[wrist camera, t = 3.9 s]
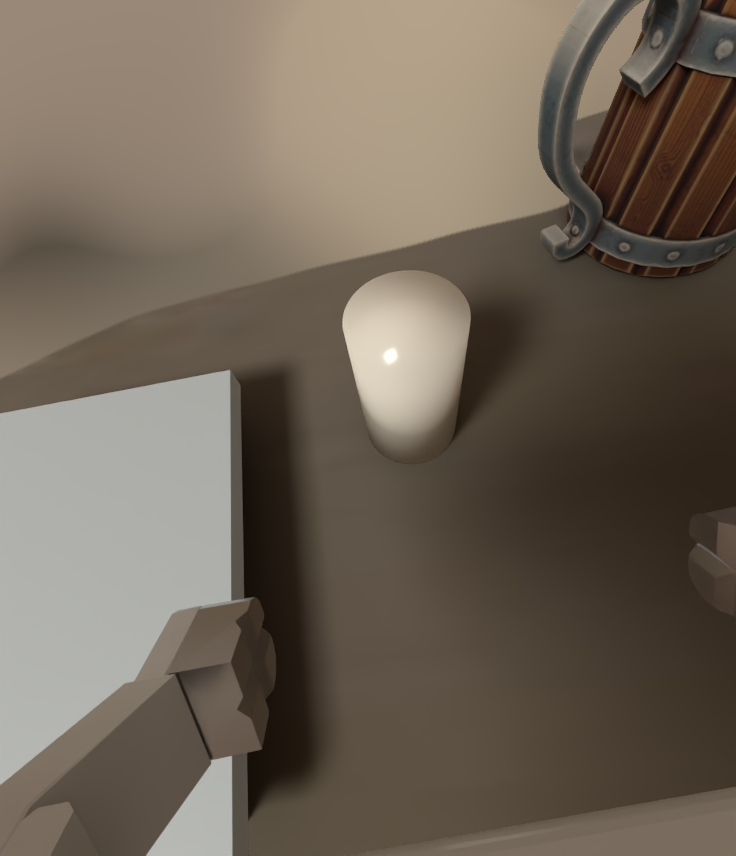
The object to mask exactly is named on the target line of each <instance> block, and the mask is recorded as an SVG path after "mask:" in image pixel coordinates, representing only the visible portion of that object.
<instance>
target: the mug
mask: <svg viewBox="0 0 736 856" xmlns="http://www.w3.org/2000/svg"><path fill="white" fill-rule="evenodd" d="M642 1H643V0H581V1H580V3H579V4H578V6H577V8H576V9H575V11H574V13H573V14H572V16H571V18H570V19H569V21H568V23H567V25H566V27H565V29H564V31H563V33H562V35H561V37H560V39H559V41H558V43H557V46H556V48H555V51H554V53H553V56H552V58H551V61H550V65H549V67H548V71H547V74H546V78H545V81H544V85H543V90H542V96H541V102H540V112H539V126H538V149H539V155H540V159H541V162H542V165H543V168H544V170H545V172H546V173H547V175H548V177H549V178H550V179H551V180H552V182H553V183H554V184H555V185H556V186H557V187H558V188H559V189H560V190H561V191H562V192H563V193H564V194H565V195H566V196H567V197H568V198H569V199H570V201H569V209H568V211H567V223H568V225H567V226H566V227H565V228H564V229H563V230H561V229H560V228H559V227H558V226H557V225H556V224H555V225H553V226H551V227H548V228H546V229H543V230H542V231H541V236H540V237H541V243H542V244H543V245H544V246H545V247H546V248H547V249H548V250H549V251H550V252H551V254H552V255H553V256H554V257H555V258H557V259H566V258H569V257H571V256H573V255H575V254H576V253H578V252H579V251H580V250H582V249H583V250H584V251H585V252H586V253H587V254H589V255H590V256H591V257H592V258H593V259H595V260H596V261H597V262H599V263H601V264H603V265H605V266H607V267H609V268H611V269H613V270H616V271H620V272H623V273H627V274H630V275H634V276H643V277H653V278H657V277H671V276H679V275H685V274H690V273H694V272H697V271H700V270H703V269H705V268H707V267H709V266H711V265H713V264H715V263H716V261H717V260H718V259H719V258H721V257H724V256H725V254H726V253H727V252H728V251H729V250H731V248H732V247H733V246H734V245H735V244H736V0H650V2H649V4H648V7H647V9H646V11H645V14H644V16H643V19H642V32H641V34H640V36H639V39H638V41H637V44H636V46H635V49H634V51H633V53H632V56H631V57H630V58H629V60H628V61H627V62H626V63H625V64H624V65H623V66H622V67H621V68H620V73H621V76H622V80H621V82H620V85H619V87H618V89H617V92H616V94H615V96H614V99H613V102H612V104H611V106H610V108H609V111H608V113H607V116H606V118H605V121H604V123H603V125H602V128H601V130H600V133H599V135H598V137H597V140H596V142H595V145H594V147H593V149H592V152H591V154H590V157H589V158H588V159H587V160H586V162H585V164H584V166H583V167H582V169H581V171H580V173H578V171H577V169H576V166H575V162H574V156H573V142H574V133H575V125H576V119H577V113H578V108H579V103H580V99H581V95H582V92H583V89H584V86H585V83H586V81H587V78H588V75H589V73H590V71H591V68H592V66H593V64H594V62H595V60H596V58H597V56H598V54H599V53H600V51H601V49H602V48H603V46H604V44H605V43H606V41H607V40H608V38H609V36H610V35H611V33H612V32H613V31H614V29H615V28H616V27H617V25H618V24H619V23H620V21H621V20H622V19H623V18H624V16H626V15H627V14H628V13H629V12H630V11H631V10H632V9H633V7H635V6H636V5H637V4H639V3H640V2H642Z"/></svg>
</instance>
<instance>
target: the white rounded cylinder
mask: <svg viewBox="0 0 736 856" xmlns="http://www.w3.org/2000/svg"><path fill="white" fill-rule="evenodd" d="M470 321H471V314H470V308H469V304H468V302H467V300H466V298H465V296H464V295H463V293H462V292H461V291H460V290H459V289H458V288H457V287H456V286H455V285H454V284H453V283H451V282H450V281H448V280H447V279H445V278H443V277H441V276H438V275H435V274H432V273H428V272H424V271H414V270H406V271H397V272H392V273H388V274H384V275H382V276H379V277H377V278H375V279H372V280H371V281H369V282H367V283H366V284H365V285H363V286H362V287H361V288H360V289H358V290H357V291H356V292H355V294H354V295H353V296H352V297H351V299H350V300H349V302H348V304H347V306H346V308H345V311H344V315H343V331H344V335H345V339H346V344H347V348H348V352H349V356H350V360H351V364H352V368H353V372H354V376H355V380H356V385H357V389H358V393H359V397H360V401H361V405H362V409H363V413H364V417H365V422H366V426H367V430H368V434H369V437H370V440H371V442H372V444H373V445H374V447H375V448H376V449H377V450H378V451H379V452H380V453H381V454H382V455H384V456H385V457H387V458H388V459H390V460H393V461H395V462H399V463H404V464H418V463H423V462H426V461H429V460H432V459H433V458H435V457H437V456H438V455H440V454H441V453H442V452H443V451H444V450H445V449H446V448H447V447H448V446H449V444H450V442H451V441H452V438H453V436H454V432H455V426H456V420H457V413H458V406H459V399H460V392H461V385H462V378H463V371H464V364H465V357H466V350H467V343H468V336H469V329H470Z"/></svg>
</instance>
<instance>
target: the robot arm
mask: <svg viewBox="0 0 736 856" xmlns="http://www.w3.org/2000/svg"><path fill="white" fill-rule="evenodd" d="M689 536H690V537H691V538H692V539H693V541H694V542H695V543H696V546H695V547H694V548H693V550H692V551H691V553H690V554H689V555H688V572H689V575H690V577H691V580H692V582H693V585H694V587H695V588H696V590H697V591H698V593H699V594H700V595H701V597H702V598H703V599H704V600H705V601H706V602H708V603H709V604H710V605H711V606H712V607H713V608H715V609H718V610H720V611H723V612H725V613H728V614H731V615H733V617H734V623H735V627H736V506H734V507H729V508H724V509H719V510H714V511H709V512H704V513H699V514H695V515H693V516H692V518H691V520H690V522H689ZM263 619H264V612H263V609H262V606H261V603H260V600H258V599H257V598H256V597H251V598H245V599H239V600H233V601H227V602H221V603H215V604H209V605H204V606H197V607H192V608H187V609H182V610H178V611H176V612H174V613H173V614H172V615H171V616H170V618H169V620H168V622H167V623H166V625H165V627H164V629H163V631H162V632H161V634H160V636H159V638H158V639H157V641H156V643H155V645H154V647H153V648H152V650H151V652H150V654H149V656H148V657H147V659H146V661H145V663H144V664H143V666H142V668H141V670H140V672H139V673H138V675H137V677H136V679H135V680H134V681H133V682H128V683H125V684H123V685H122V686H121V687H120V688H118V689H117V690H116V691H115V692H114V693H112V694H111V695H110V696H109V697H107V698H106V699H105V700H104V701H103V702H101V703H100V704H99V705H98V706H96V707H95V708H94V709H93V710H92V711H90V712H89V713H88V714H87V715H85V716H84V717H83V718H82V719H81V720H79V721H78V722H77V723H76V724H74V725H73V726H72V727H71V728H70V729H68V730H67V731H66V732H65V733H63V734H62V735H61V736H60V737H59V738H57V739H56V740H55V741H54V742H52V743H51V744H50V745H49V746H47V747H46V748H45V749H44V750H43V751H41V752H40V753H39V754H38V755H36V756H35V757H34V758H33V759H32V760H30V761H29V762H28V763H27V764H25V765H24V766H23V767H22V768H21V769H19V770H18V771H17V772H16V773H14V774H13V775H12V776H11V777H10V778H8V779H7V780H6V781H5V782H3V783H2V784H1V785H0V856H146V855H147V853H148V852H149V850H150V849H151V848H152V846H153V845H154V843H155V842H156V841H157V839H158V838H159V836H160V835H161V834H162V832H163V831H164V829H165V828H166V827H167V825H168V824H169V822H170V821H171V820H172V818H173V817H174V815H175V814H176V813H177V811H178V810H179V808H180V807H181V806H182V804H183V803H184V801H185V800H186V799H187V797H188V796H189V794H190V793H191V792H192V790H193V789H194V787H195V786H196V785H197V783H198V782H199V780H200V779H201V778H202V776H203V775H204V773H205V772H206V771H207V769H208V768H209V766H210V765H211V761H210V760H215V759H220V758H224V757H229V756H234V755H238V754H243V753H247V752H252V751H257V750H261V749H262V747H263V741H264V736H265V731H266V726H267V721H268V716H269V710H268V707H267V703H266V700H265V699H266V698H267V697H268V695H269V694H270V693H271V692H272V691H273V690H274V685H275V679H276V654H275V648H274V643H273V640H272V637H271V634H270V633H268V632H267V631H266V630H264V629H263V628H262V623H263ZM347 856H736V787H732V788H726V789H720V790H715V791H709V792H703V793H698V794H692V795H686V796H681V797H675V798H669V799H664V800H658V801H652V802H647V803H641V804H635V805H630V806H624V807H618V808H613V809H607V810H601V811H596V812H590V813H584V814H579V815H573V816H567V817H562V818H556V819H550V820H545V821H539V822H533V823H528V824H522V825H516V826H510V827H505V828H499V829H493V830H488V831H482V832H476V833H471V834H465V835H459V836H454V837H448V838H443V839H437V840H431V841H426V842H420V843H414V844H409V845H403V846H397V847H392V848H386V849H380V850H375V851H369V852H363V853H358V854H352V855H347Z"/></svg>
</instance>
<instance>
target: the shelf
mask: <svg viewBox="0 0 736 856" xmlns="http://www.w3.org/2000/svg"><path fill="white" fill-rule="evenodd" d="M239 599H244V556H243V500H242V443H241V387H240V384H239V382H238V381H237V379H236V378H235V376H234V375H233V373H232V372H231V370H227V371H222V372H217V373H211V374H206V375H201V376H196V377H190V378H185V379H180V380H175V381H169V382H164V383H159V384H154V385H148V386H143V387H138V388H133V389H127V390H122V391H117V392H112V393H106V394H101V395H96V396H91V397H85V398H80V399H75V400H70V401H64V402H59V403H54V404H49V405H43V406H38V407H33V408H28V409H22V410H17V411H12V412H7V413H1V414H0V785H1V784H2V783H3V782H5V781H6V780H7V779H8V778H10V777H11V776H12V775H13V774H14V773H16V772H17V771H18V770H19V769H21V768H22V767H23V766H24V765H25V764H27V763H28V762H29V761H30V760H32V759H33V758H34V757H35V756H36V755H38V754H39V753H40V752H41V751H43V750H44V749H45V748H46V747H47V746H49V745H50V744H51V743H52V742H54V741H55V740H56V739H57V738H59V737H60V736H61V735H62V734H63V733H65V732H66V731H67V730H68V729H70V728H71V727H72V726H73V725H74V724H76V723H77V722H78V721H79V720H81V719H82V718H83V717H84V716H85V715H87V714H88V713H89V712H90V711H92V710H93V709H94V708H95V707H96V706H98V705H99V704H100V703H101V702H103V701H104V700H105V699H106V698H107V697H109V696H110V695H111V694H112V693H114V692H115V691H116V690H117V689H118V688H120V687H121V686H122V685H123V684H125V683H128V682H133V681H134V680H135V679H136V677H137V675H138V673H139V672H140V670H141V668H142V666H143V664H144V663H145V661H146V659H147V657H148V656H149V654H150V652H151V650H152V648H153V647H154V645H155V643H156V641H157V639H158V638H159V636H160V634H161V632H162V631H163V629H164V627H165V625H166V623H167V622H168V620H169V618H170V616H171V615H172V614H173V613H174V612H176V611H178V610H182V609H187V608H192V607H197V606H204V605H209V604H215V603H221V602H227V601H233V600H239ZM210 761H211V765H210V766H209V768H208V769H207V771H206V772H205V773H204V775H203V776H202V778H201V779H200V780H199V782H198V783H197V785H196V786H195V787H194V789H193V790H192V792H191V793H190V794H189V796H188V797H187V799H186V800H185V801H184V803H183V804H182V806H181V807H180V808H179V810H178V811H177V813H176V814H175V815H174V817H173V818H172V820H171V821H170V822H169V824H168V825H167V827H166V828H165V829H164V831H163V832H162V834H161V835H160V836H159V838H158V839H157V841H156V842H155V843H154V845H153V846H152V848H151V849H150V850H149V852H148V853H147V855H146V856H249V839H248V783H247V753H243V754H238V755H234V756H229V757H224V758H220V759H215V760H210Z"/></svg>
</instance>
